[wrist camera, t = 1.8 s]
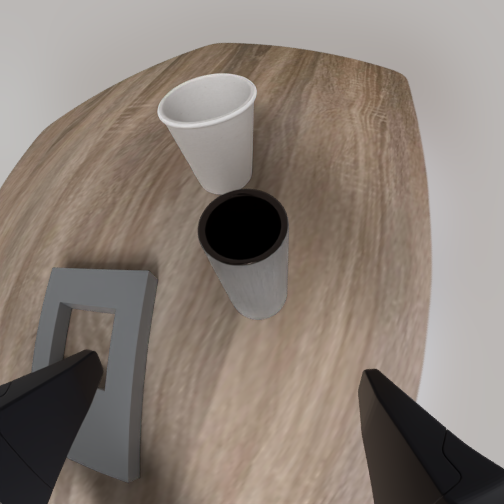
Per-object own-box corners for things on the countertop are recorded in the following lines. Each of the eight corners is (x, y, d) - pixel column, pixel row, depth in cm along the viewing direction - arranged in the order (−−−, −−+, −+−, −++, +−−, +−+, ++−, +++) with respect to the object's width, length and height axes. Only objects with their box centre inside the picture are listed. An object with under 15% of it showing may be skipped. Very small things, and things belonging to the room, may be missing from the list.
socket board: (139, 477, 16) (128, 482, 15) (41, 436, 18) (28, 436, 16) (158, 279, 25) (149, 270, 23) (63, 275, 26) (52, 267, 24)
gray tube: (246, 330, 22) (217, 281, 13) (222, 282, 24) (185, 210, 15) (297, 303, 22) (306, 238, 13) (270, 258, 24) (261, 175, 15)
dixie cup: (195, 216, 27) (160, 138, 19) (181, 161, 31) (154, 90, 22) (277, 189, 28) (271, 105, 19) (250, 139, 32) (239, 65, 23)
